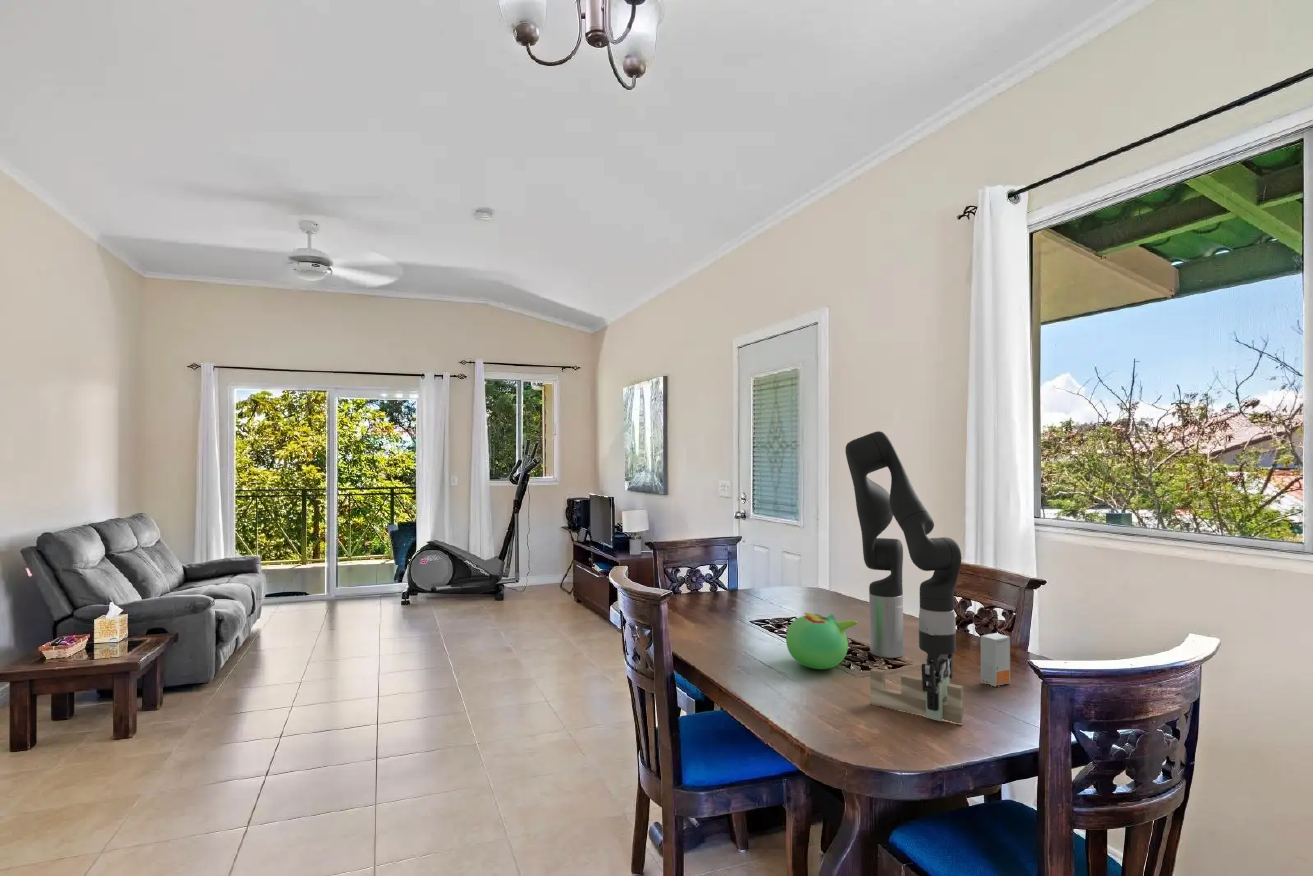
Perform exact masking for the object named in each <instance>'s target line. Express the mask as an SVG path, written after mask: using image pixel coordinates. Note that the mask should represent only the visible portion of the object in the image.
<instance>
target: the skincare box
mask: <svg viewBox="0 0 1313 876" xmlns="http://www.w3.org/2000/svg"><path fill="white" fill-rule="evenodd" d="M981 681H982V682H987V683H989V684H992V685H998V684H1001V683H1004V682H1010V683H1011V637H1010V636H1009V635H1005V634H1000V633H997V632H995V633H987V634H983V635H980V682H981Z"/></svg>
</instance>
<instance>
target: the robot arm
mask: <svg viewBox="0 0 1313 876" xmlns="http://www.w3.org/2000/svg"><path fill="white" fill-rule="evenodd" d="M844 452H845V457H846V462H847V465H848V469H849V474H850V477H851V480H852V484H853V490H854V496H855V506H856V512H857V516H858V521H859V525H860V531H861V541H862V554H863V556H862V557H863V560H864V562H863V563H864V564H865V566H866V567H867V568H868V569H870V570H874V571H890V574H889V575H888V576H886V577H884V578H882V579H879V580H874V581H872V582H871V583H870V584H869V587H868V591H869V592H868V594H869V595H868V596H869V598H868V599H869V604H868V605H869V650H870V651H869V653H870V654H872V655H874V656H876V657H881V658H891V659H892V658H900V657H903V656H904V605H903V604H904V600H903V599H904V594H903V567H904V566H903V563H904V546H903V543H902V541H901V540H900V539H898V538H888V537H887V538H885V537H884V538H883V537H879V535H881V534H882V533H883V532H884V531H885V530H886V529H887V528H888V527H889V525H890V524H891V523H892V520H893V517H894V519H895V521H896V523H897V524H898V526H899V527H900V529H901V530H902V533H903V535H904V539H905V543H906V546H907V550H908V553H909V557H910V560H911V561H912V563H913V565H915V567H917V568H918V569H920V570H921V571H923V572H924V571H925V572H933V574H932V576H931V577H929V579H926V580H924V581H922V582H921V583H920V585H919V612H918V613H919V614H918V647H919V649H920V650H921V651H923V652H924V653H926V654H927V656H926V660H925V663H921V666H920V667H921V678H922V687H923V688H922V689H923V691H925V692H927V708H928V709H929V710H933V711H937V710H938V709H939V693H938V692H939V683H942V681H943V676H947V677H949V684H951V680H952V679H953V677H954V676H953V669H954V668H953V665H954V663H953V662H954V661H953V659H954V653H956V651H957V641H956V640H957V636H956V633H957V631H956V615H955V594H954V592H955V588H956V585H957V582H958V581H957V580H958V577H959V573H960V570H961V565H962V559H963V557H962V551H961V548H960V546H959V544H958V543H957V541H956V540H955V539H953V538H950V537H947V536H946V537H945V536H944V537H932V538H929V537H928V536H927V535H929V534H930V533H931V532H932V531H933V530H934V527H935V523H934V519H933V518H932V516H931V514H930V513H929V512H928V510H927V508H926V507H925V505H924V504H923V503H922V500H920V498H919V496H918V494H917V493H916V490H915V489H914V487H913V485H912V482H911V481H910V478H909V476H908V474H907V471H906V469H905V467H904V465H903V463H902V461H901V459H900V457H899V455H898V453H897V451H896V449H895V447H894V446H893V443H892V441H891V440H890V439H889V436H887V435H886V434H885V433H884V432H883V431H879V430H878V431H873V432H871V433H867V434H865V435H863V436H861V437H860V436H859V437H857V438H855V439H852V440H851V441H849V442H847V443H846V445H845V451H844ZM884 468H888V470H889V472H890V477H891V478H890V481H891V485H890V491H889V492H888V491H887V489H885V488H884V487H883V486H881V485H880V484H878V483H876V482H875V481H873V480H871V478H869V477H868V474H871V473H874V472H876V471H879V470H880V469H881V470H882V469H884ZM935 677H938V678H935ZM930 682H931V684H932V687H930Z"/></svg>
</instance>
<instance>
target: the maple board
mask: <svg viewBox="0 0 1313 876" xmlns="http://www.w3.org/2000/svg"><path fill="white" fill-rule="evenodd" d="M869 671H870V673H869V674H870V675H869V678H870V705H871V704H872V706H875V705H879V706H883V707H887V708H886V709H888V708H891V709H890V710H892V709H895V710H894V711H896V710H902V711H905V712H909V713H914V714H921V715H925V716H926V692H925V691H923V689H922V688H923V687H922V677H919V676H915V675H909V674H904V673H903V674H902V675H901V676H900V682H901V683H900V685H901V686H900V687H901V691H898V690H894V689H891V688H890V689H889V688H886V669H880V668H876V667H875V668H874V667H873V668H871V669H870V670H869ZM942 704H943V719H944V720H948V721H952V722H956V723H963V722H964V719H965V716H964V715H965V713H964V705H965V704H964V685H958V684H954V683H950V684H949V685H947V702H944V701H942ZM879 706H878V707H879ZM883 707H882V708H883ZM964 723H965V722H964Z"/></svg>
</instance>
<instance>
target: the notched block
mask: <svg viewBox="0 0 1313 876" xmlns="http://www.w3.org/2000/svg"><path fill="white" fill-rule="evenodd" d="M935 678H938V677H935ZM947 685H949V677H947V676H943V681H942V683H939V692H938V693H939V709H938V710H937V711H933V710H929V709H928V708H927V692H926V718H927V719H929V718H930V720H934V721H938V722H942V721H941V720H942V719H943V704H942V701H944V702H947ZM930 687H932V684H931V682H930Z"/></svg>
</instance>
